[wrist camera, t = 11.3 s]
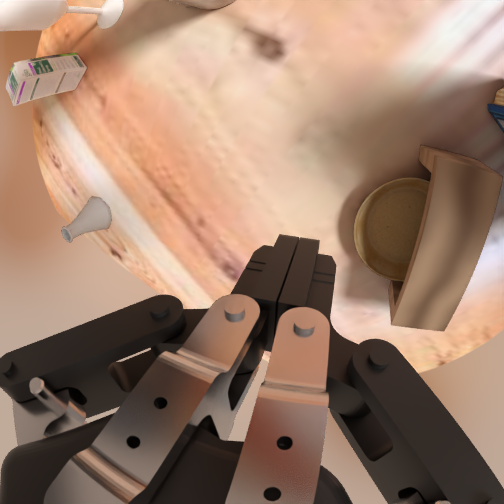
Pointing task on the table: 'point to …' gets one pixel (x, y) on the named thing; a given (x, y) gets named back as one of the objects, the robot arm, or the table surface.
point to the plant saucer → (391, 226)
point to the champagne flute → (51, 13)
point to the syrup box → (44, 77)
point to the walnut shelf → (445, 240)
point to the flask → (89, 219)
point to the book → (498, 108)
